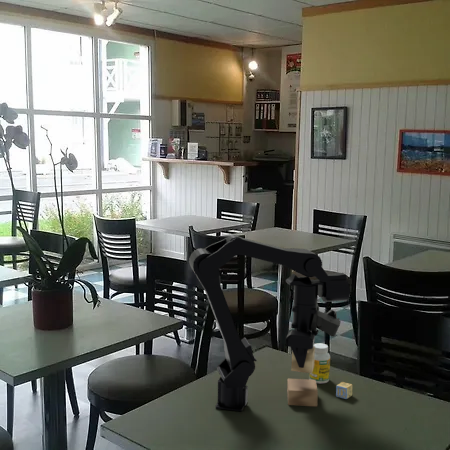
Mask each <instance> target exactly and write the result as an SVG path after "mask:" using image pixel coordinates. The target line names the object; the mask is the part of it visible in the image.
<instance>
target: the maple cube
mask: <svg viewBox="0 0 450 450" xmlns="http://www.w3.org/2000/svg"><path fill="white" fill-rule="evenodd" d="M314 358H315V346H313V349H308V352H307V356H306V360H305V364H304V368H300V367H299V366H298V363H297V361H296V358H295V356H294V354H293V351H292V350H291V366H290V371H291V372H299V373H306V374H307V373H308V374H310V373H312V371H313V368H314Z"/></svg>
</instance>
